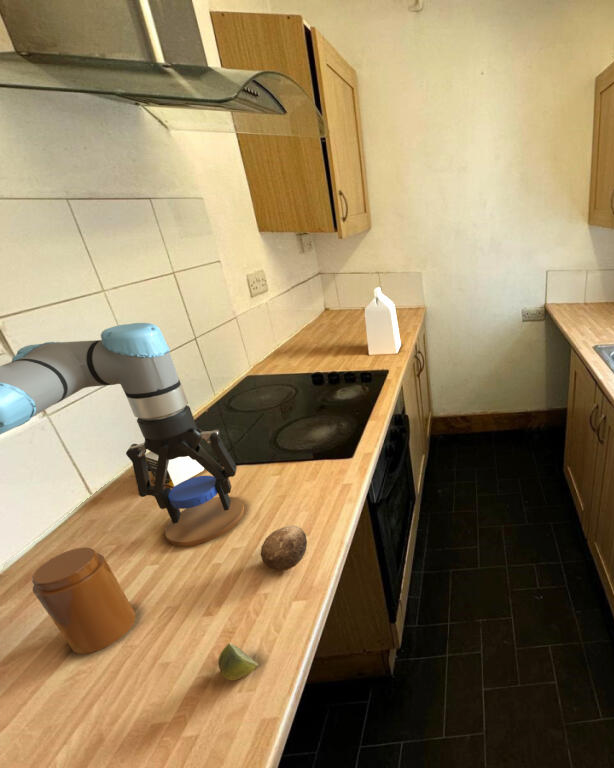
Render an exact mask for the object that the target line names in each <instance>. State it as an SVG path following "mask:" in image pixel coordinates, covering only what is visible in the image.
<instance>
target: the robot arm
mask: <svg viewBox="0 0 614 768" xmlns="http://www.w3.org/2000/svg"><path fill="white" fill-rule="evenodd" d="M100 338H101V339H97V340H96V339H95V340H80V341H79V340H77V341H75V340H74V341H61V342H60V341H45V342H43V343H35V344H27V345H26V346H22V347H21V348H19V349H18V350H17V352H16V354H15V355H14V356H13V357H11V358H12V359H11V361H10V362H7V363H4V364H2V365H0V435H2V434H5V433H6V432H9V431H11V430H13V429H15V428H18V427H21V426H22V425H25V424H26V423H28V422H29V421H30V420H31V419H33V418H34V417H35V416H37V415H39V414H41V413H42V412H44V411H45V410H47V409H49V408H50V407H53V406H54V405H56V404H59V403H60V402H62V401H64V400H65V399H67V398H69V397H71V396H73V395H74V394H76V393H78V392H79V391H82V390H83V389H87V388H91V387H92V388H93V387H103V386H104V387H105V386H115V385H116V386H117V385H120V387H121V388H122V391H123V393H124V394H125V397H126V399H127V401H128V404H129V406H130V408H131V412H132V414H133V416H134V417H135V418H137V419H136V422H137V423H136V424H137V425H138V428H139V430H140V432H141V434H142V436H143V438H144V442H142V443H139V444H137V443H131V444H130V446H129V447H128V449H127V450H126V452H125V455H126V457H128V459H129V460H130V462H132V467H133V473H134V478H135V483H136V488H137V493H138V496H139V497H141V498H146V497H147V496H151V497H154V499H155V501H156V503H157V505H158V508H159V509H160V510H165V509H166V511H167V513H168V516H169V518H170V521H171V520H172V522H173V524H174V523H178V521H179V518H180V515H181V512H182V511H181V509H178V508H174V507H173V506H172V505H171V504H170V502H169V498H168V494H169V492H170V490H171V489H172V488H171V486H170V487H165V486H166V484H165V479H166V474H167V469H168V463H169V460H172V459H175V458H178V457H187V456H189V457H190V458H191V459H193V460H196V461H197V462H198V463H199V464H200V465H201V466H202V467H204V470H206V471H207V472H208V473H209V474H211V475H210V476H213V477H215V478H216V482H215V486H216V489H217V492H218V493H217V495H218V497H220V500H221V503H222V505H223V508H224V511H226V510H229V507H230V502H231V501H230V498H229V497H230V496H229V494H231V490H232V484H231V481H230V478H233V477H235V475H236V473H237V469H238V467H237V465H236V463H235V462H234V460H233V458H232V456H231V455H230V453H229V451H228V449H227V448H226V446H225V444H224V442H223V441H222V439H221V431H220V429H219V428H213V429H212V430H208V431H206V430H205V431H202V430H201V429H200V428H199V427H198V426H197V424H196V421H195V418H194V415H193V413H192V408H191V407H190V406H189V405H188V404H189V403H188V399H187V397H186V393H185V391H184V388H183V385H182V382H181V381H180V378H179V376H178V372H177V370H176V367H175V364H174V361H173V358H172V355H171V350H170V346H169V345H168V343H167V342H166V339H165V337H164V335H163V333H162V330H161V329H160V327H159V326H158V325H156V324H153V323H150V322H133V323H128V324H118V325H115V326H110V327H108V328H105V329H104V330H102V332H101V333H100ZM201 440H205V442H206V443H207V444H210V447H211V449H212V451H213V453H214V455H215V456H216V458H217V459H218V461H219V463H218V461H217V460H215V459H214V458H213V457H212V456H211V455H210V454H209V453H208V452H207V451H206V450H204V447H203V446H202V445H201V444H200V442H201ZM147 451H149V452H153V453H155V454H157V455H158V462H157V471H156V476H155V480H154V483H153V485H152V483H151V477H150V472H149V466H148V464H147V461H146V456H145V454H147Z"/></svg>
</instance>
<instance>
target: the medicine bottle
mask: <svg viewBox="0 0 614 768" xmlns="http://www.w3.org/2000/svg"><path fill="white" fill-rule="evenodd" d="M145 456H146V461H147V467H148V469H149V470H150V473H151V475H152V477H153V479H154V481H155V476H156V471H157V462H158V455H157V454H155V453H153V452H151V451H149V452H146V453H145ZM204 471H205V468H204V467H202V466H201V465H200V464H199V463H198V462H197V461H196V460H193V459H191V458H190V457H189V456H187V457H178V458H175V459H172V460H169V463H168V469H167V474H166V479H165V485H167V486H170V487H172V488H173V487H175V486H176V485H178V484H179V483H181V482H183V481H185V480H188V479H191V478H194V477H196V476H197V475H198V474H200V473H202V472H204Z"/></svg>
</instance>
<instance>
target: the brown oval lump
mask: <svg viewBox="0 0 614 768" xmlns="http://www.w3.org/2000/svg"><path fill="white" fill-rule="evenodd" d="M307 544H308V539H307V535H306V533H305V531H304V530H303V529H302V527H300V526H297V525H294V524H293V525H291V524H290V525H287V526H283V527H280V528H278V529H275V530H274V531H273V532H272V533H270V534H269V535H268V536H267V537H265V539H264V541H263V543H262V545H261V547H260V558H261V560H262V563H263V564H264V565H265V567H267V568H268V569H270V570H273V571H277V572H286V571H289V570H291V569H292V568H295V567H296V566H297V565H298V564H299V563H300V562H301V561H302V560H303V558H304V556H305V553H306V551H307V546H308V545H307Z"/></svg>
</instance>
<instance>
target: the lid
mask: <svg viewBox="0 0 614 768" xmlns="http://www.w3.org/2000/svg"><path fill="white" fill-rule="evenodd" d="M215 482H216V478H215V477H214V476H213V475H199V476H193V477H191V478H189V479H188V480H185V481H183V482H181V483H179V484H178V485H176V486H175V487H173V486H172V488H170V489H171V490H170V492H169V494H168V498H169V502H170V504H171V505H172V506H173V507H174V508H178V509H179V510H185V509H187V508H192V507H195V506H198V505H201V504H203V503H205V502H207V501H209V500H211V499H212V498H216V496H217V495H218V492H217V489H216V486H215Z"/></svg>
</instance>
